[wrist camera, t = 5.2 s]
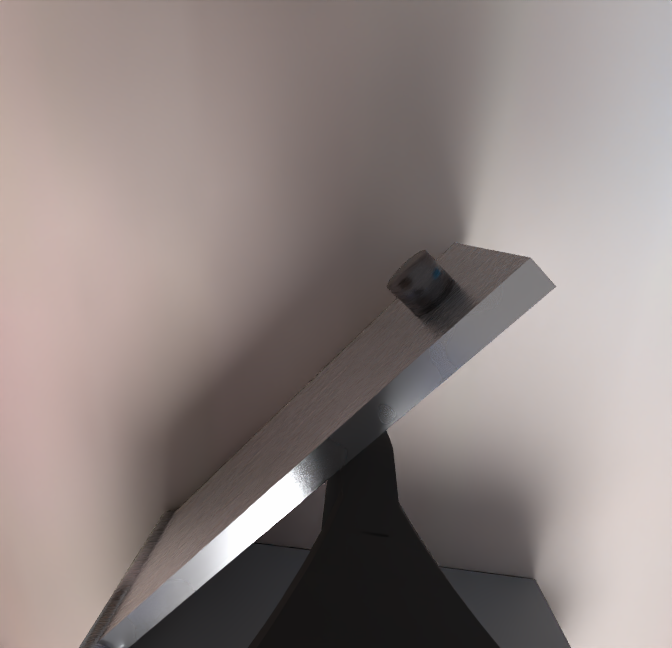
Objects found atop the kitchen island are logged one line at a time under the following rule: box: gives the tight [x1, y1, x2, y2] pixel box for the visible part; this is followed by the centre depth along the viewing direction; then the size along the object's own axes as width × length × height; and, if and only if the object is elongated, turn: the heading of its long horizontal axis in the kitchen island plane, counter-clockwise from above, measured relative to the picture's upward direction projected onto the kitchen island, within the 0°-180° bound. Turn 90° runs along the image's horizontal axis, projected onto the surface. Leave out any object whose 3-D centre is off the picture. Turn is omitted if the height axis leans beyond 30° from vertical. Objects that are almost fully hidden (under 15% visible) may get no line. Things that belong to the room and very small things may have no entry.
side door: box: [79, 243, 556, 648], centre depth 8 cm, size 13×2×4 cm, turn 136°
